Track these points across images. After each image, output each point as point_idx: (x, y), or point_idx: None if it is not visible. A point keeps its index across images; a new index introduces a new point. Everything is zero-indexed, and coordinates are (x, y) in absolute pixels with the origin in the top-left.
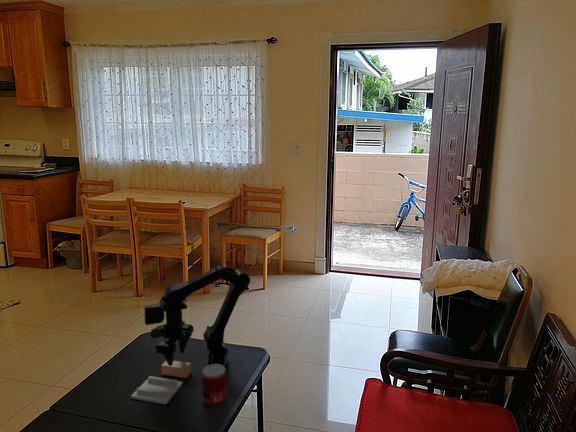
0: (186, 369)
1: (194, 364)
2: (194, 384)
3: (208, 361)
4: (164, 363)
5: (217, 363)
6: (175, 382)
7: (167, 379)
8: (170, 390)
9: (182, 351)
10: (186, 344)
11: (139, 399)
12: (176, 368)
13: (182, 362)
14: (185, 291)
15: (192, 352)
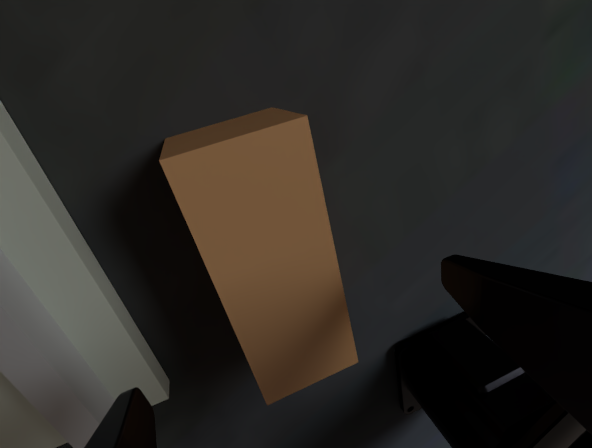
0: (268, 396)
1: (409, 251)
2: (219, 420)
3: (441, 351)
4: (219, 164)
5: (430, 417)
6: (76, 445)
7: (45, 375)
8: (1, 437)
9: (461, 292)
10: (570, 413)
11: None
12: (234, 324)
13: (337, 306)
14: None
15: (541, 118)
